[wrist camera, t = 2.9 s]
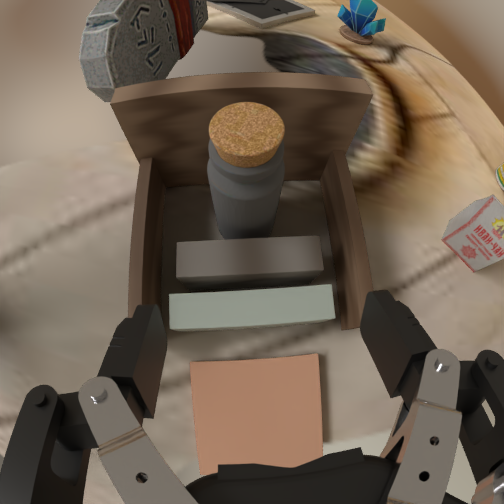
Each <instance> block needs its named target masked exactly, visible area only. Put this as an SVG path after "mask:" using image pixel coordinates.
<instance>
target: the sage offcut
mask: <svg viewBox="0 0 504 504" xmlns="http://www.w3.org/2000/svg"><path fill="white" fill-rule="evenodd" d="M169 318H170V329H172V330H177V331H213V330H234V329H251V328H266V327H279V326H290V325H301V324H311V323H321V322H325V321H328V320H331V319H334V318H335V310H334V302H333V293H332V285H331V284H327V285H315V286H302V287H289V288H275V289H260V290H243V291H225V292H205V293H182V294H169Z"/></svg>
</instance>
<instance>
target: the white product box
mask: <svg viewBox="0 0 504 504" xmlns="http://www.w3.org/2000/svg"><path fill="white" fill-rule="evenodd" d="M441 240H442V241H443V242H444V243H445V244H446V245H447V246H448V247H449V248H450V249H451V250H452V251H453V252H454V253H455V254H456V255H457V256H458V257H459V258H460V259H461V260H462V261H463V262H464V263H465V264H466V265H467V266H468V267H469V268H470V269H471V270H472V271H473V272H475V271H478V270H480V269H482V268H484V267H487V266H489V265H491V264H493V263H495V262H498V261H500V260H502V259H503V258H504V206H503V205H502V204H501V203H500V201H499V200H498V199H497V198H496V197H495V196H494V195H491V196H489V197H487V198H484V199H480V200H476V201H474V202H473V203H472V204H470V205H469V206H468V207H467V208H465V209H464V210H463V211H461V212H460V213H459V214H457V215H456V216H455V217H453V218H452V219H451V220H449V223H448V225H447V228H446V230H445V232H444V235H443V237H442V239H441Z"/></svg>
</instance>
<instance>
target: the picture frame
mask: <svg viewBox="0 0 504 504" xmlns="http://www.w3.org/2000/svg"><path fill="white" fill-rule="evenodd" d="M207 6H209V7H212V8H215V9H217V10H220V11H222V12H224V13H227V14H229V15H232V16H234V17H236V18H238V19H241V20H243V21H245V22H247V23H249V24H251V25H254V26H256V27H258V28H260V29H264V28H267V27H270V26H273V25H277V24H280V23H284V22H288V21H291V20H295V19H299V18H304V17H308V16H312V15H314V14H315V10H313V9H311V8H309V7H307V6H304V5H302V4H300V3H298V2H295V1H293V0H207Z"/></svg>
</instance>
